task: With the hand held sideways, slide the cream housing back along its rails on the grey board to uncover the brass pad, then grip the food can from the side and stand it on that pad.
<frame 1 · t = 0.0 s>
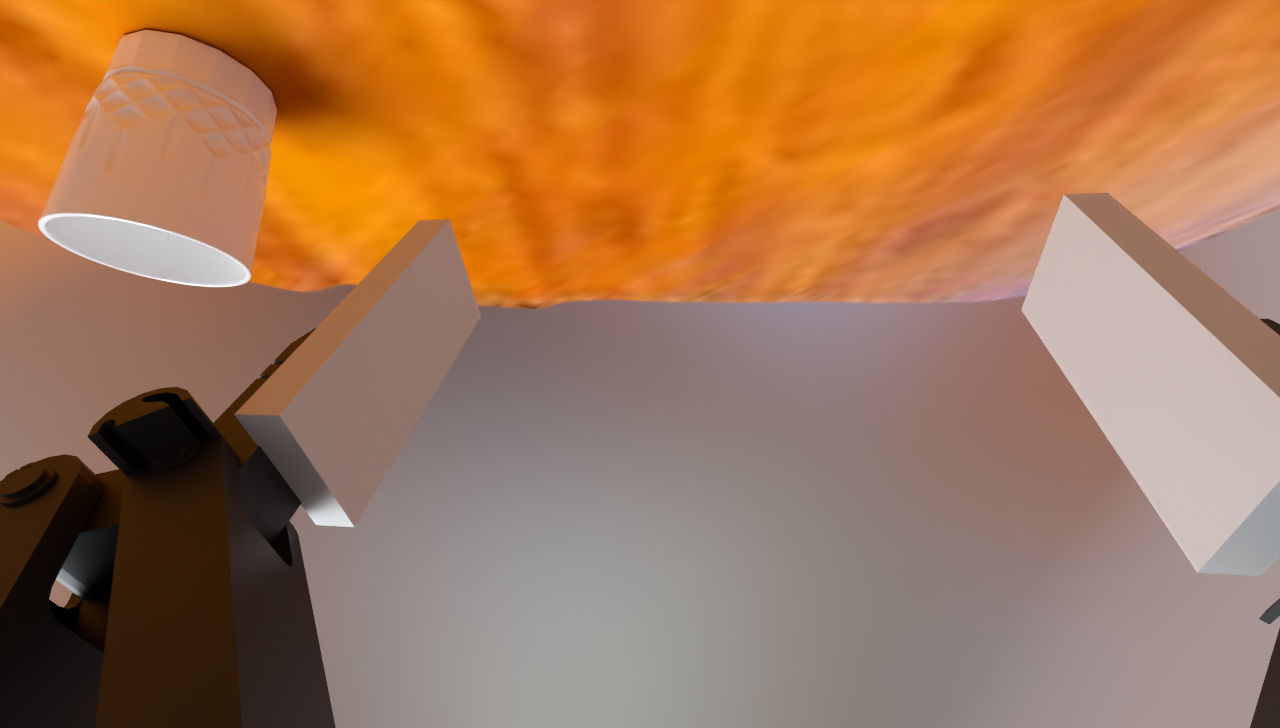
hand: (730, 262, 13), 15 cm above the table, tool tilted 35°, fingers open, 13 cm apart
white cup: (203, 76, 30), on the table
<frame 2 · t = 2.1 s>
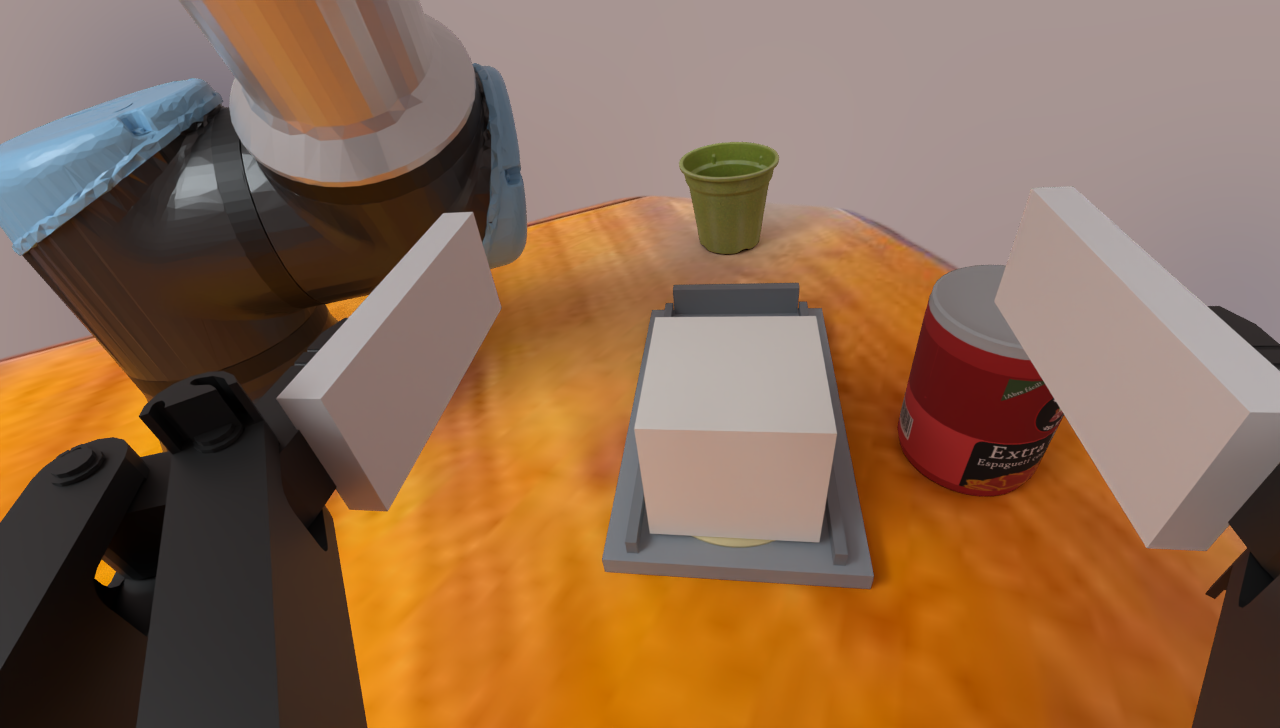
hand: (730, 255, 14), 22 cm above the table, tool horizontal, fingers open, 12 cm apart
plant pot 2: (728, 243, 61), on the table
layout board: (734, 421, 40), on the table
housing: (733, 424, 32), point 6 cm above the table, slide at 0.0 cm
canned food: (960, 451, 37), on the table
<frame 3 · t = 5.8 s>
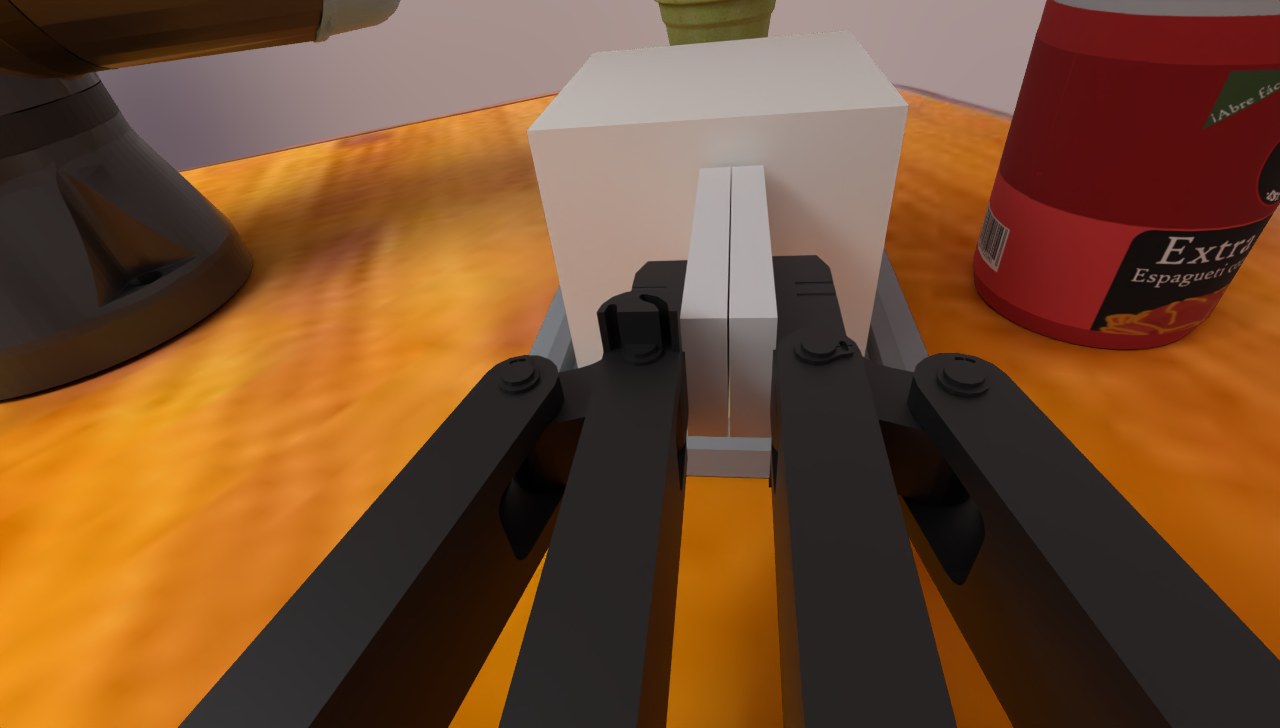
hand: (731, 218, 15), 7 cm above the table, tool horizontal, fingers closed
plant pot 2: (719, 113, 48), on the table
layout board: (721, 276, 27), on the table
housing: (715, 203, 20), point 6 cm above the table, slide at 1.1 cm, touching gripper
canned food: (1073, 299, 23), on the table
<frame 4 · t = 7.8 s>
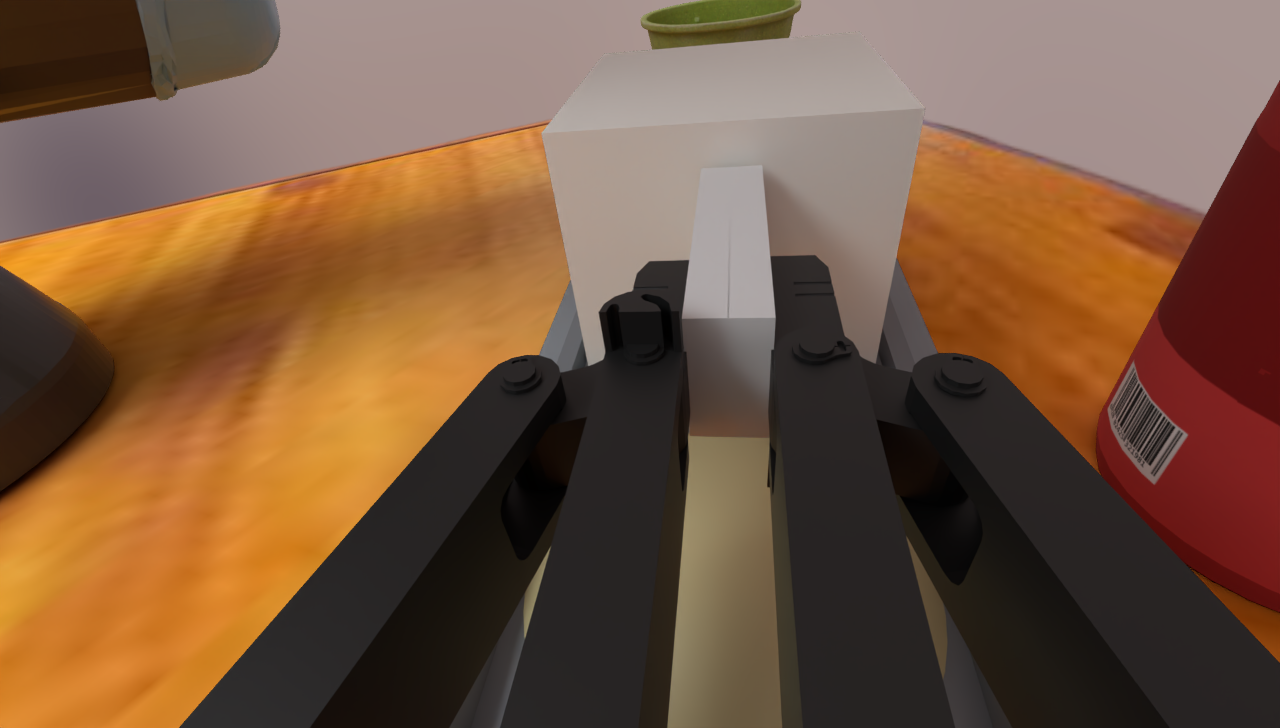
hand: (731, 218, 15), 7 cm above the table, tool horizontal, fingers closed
plant pot 2: (721, 158, 40), on the table
layout board: (727, 434, 19), on the table
housing: (726, 205, 20), point 6 cm above the table, slide at 11.2 cm, touching gripper
canned food: (1256, 506, 16), on the table
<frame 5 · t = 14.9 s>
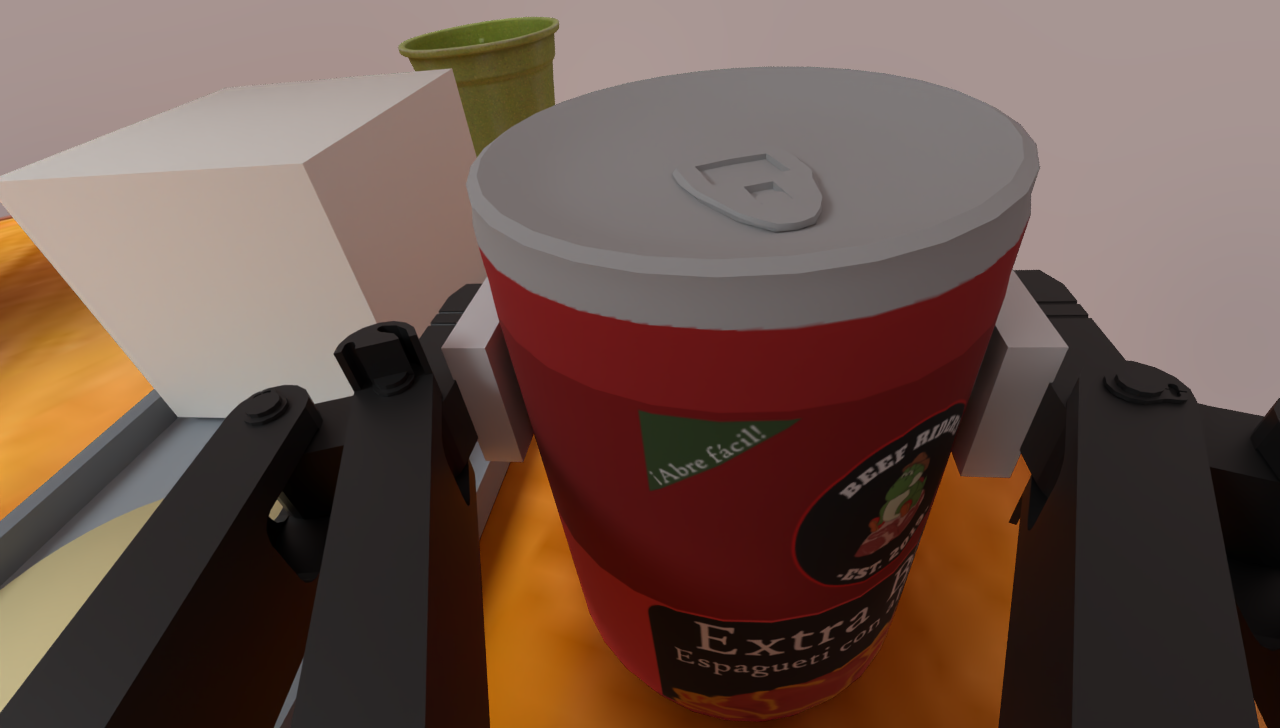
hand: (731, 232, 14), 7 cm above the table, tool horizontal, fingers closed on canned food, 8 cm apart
plant pot 2: (514, 179, 39), on the table
layout board: (295, 482, 19), on the table
housing: (316, 241, 20), point 6 cm above the table, slide at 11.8 cm
canned food: (730, 569, 15), on the table, touching gripper
when the fingers open (9 cm above the table, at t = 19.4 s): canned food stays where it is, resting on layout board.
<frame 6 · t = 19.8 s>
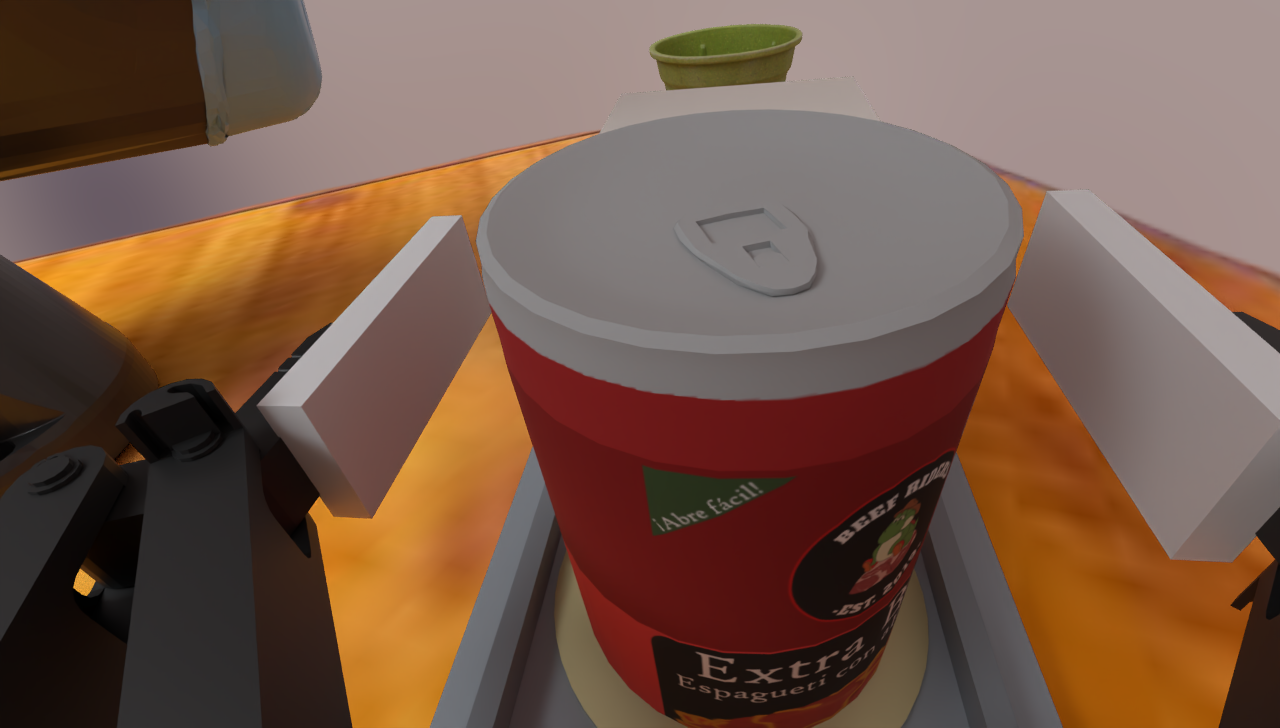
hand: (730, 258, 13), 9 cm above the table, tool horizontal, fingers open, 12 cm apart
plant pot 2: (725, 178, 42), on the table
layout board: (733, 451, 21), on the table
housing: (733, 233, 22), point 6 cm above the table, slide at 11.8 cm
canned food: (730, 588, 16), point 1 cm above the table, touching layout board
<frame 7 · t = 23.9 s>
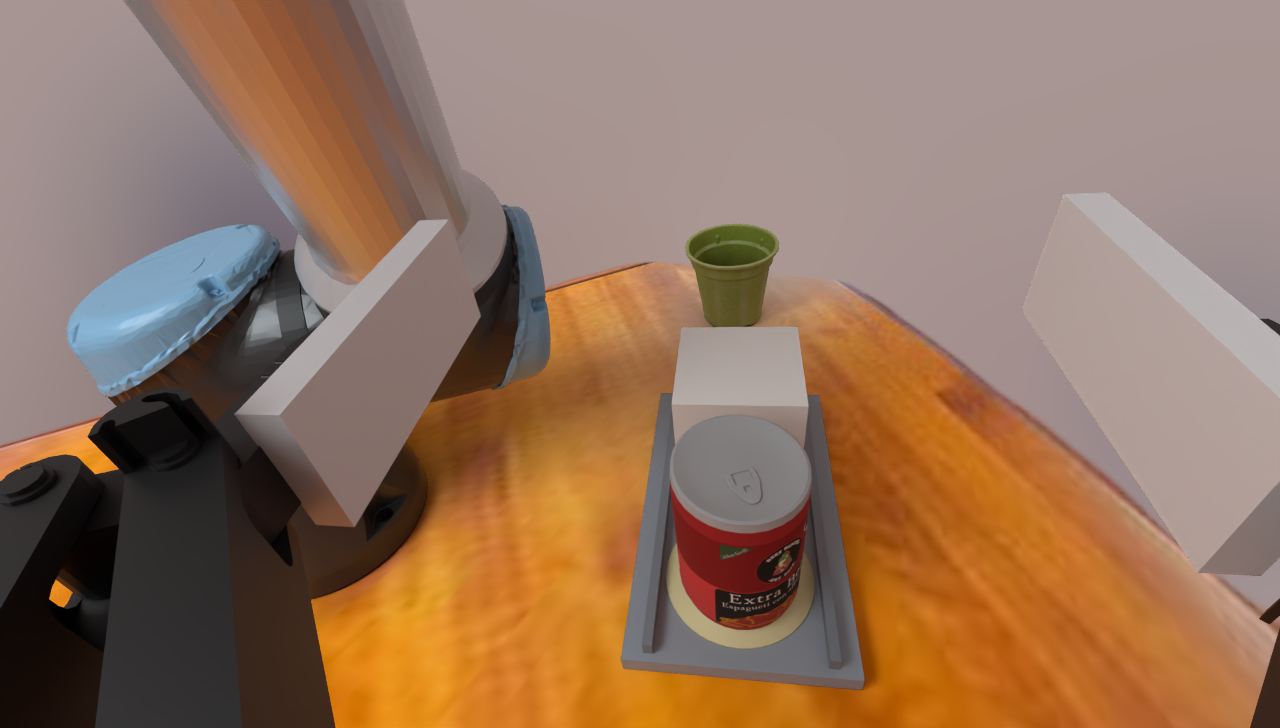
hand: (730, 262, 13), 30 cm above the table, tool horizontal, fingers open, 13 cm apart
plant pot 2: (731, 316, 64), on the table
layout board: (738, 512, 44), on the table
housing: (738, 404, 45), point 6 cm above the table, slide at 11.8 cm
canned food: (738, 577, 38), point 1 cm above the table, touching layout board
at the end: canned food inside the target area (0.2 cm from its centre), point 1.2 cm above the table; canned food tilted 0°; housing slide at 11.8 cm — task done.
